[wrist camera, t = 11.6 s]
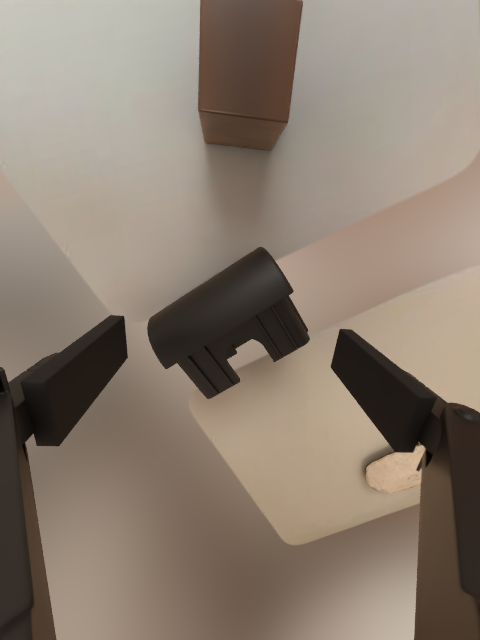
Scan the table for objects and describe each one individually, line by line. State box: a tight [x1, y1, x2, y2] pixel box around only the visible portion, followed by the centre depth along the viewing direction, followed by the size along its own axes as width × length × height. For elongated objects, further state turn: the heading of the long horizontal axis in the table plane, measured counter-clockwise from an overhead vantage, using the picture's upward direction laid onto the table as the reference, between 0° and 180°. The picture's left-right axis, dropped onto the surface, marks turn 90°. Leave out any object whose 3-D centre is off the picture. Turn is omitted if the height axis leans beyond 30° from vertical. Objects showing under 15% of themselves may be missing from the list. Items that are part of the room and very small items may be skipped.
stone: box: [366, 445, 425, 494], centre depth 30 cm, size 8×14×2 cm, turn 115°
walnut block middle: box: [198, 0, 303, 150], centre depth 15 cm, size 5×5×5 cm
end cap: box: [147, 247, 310, 399], centre depth 19 cm, size 10×7×7 cm
